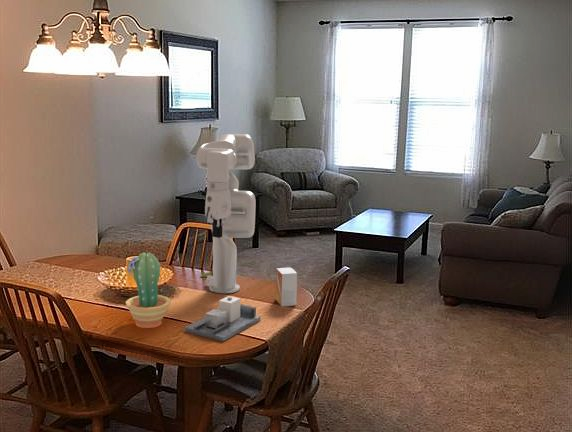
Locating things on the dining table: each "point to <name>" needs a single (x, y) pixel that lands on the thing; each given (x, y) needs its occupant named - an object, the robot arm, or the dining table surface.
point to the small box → (286, 286)
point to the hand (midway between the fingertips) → (217, 236)
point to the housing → (230, 307)
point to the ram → (215, 318)
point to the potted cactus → (147, 292)
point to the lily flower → (207, 274)
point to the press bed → (226, 325)
